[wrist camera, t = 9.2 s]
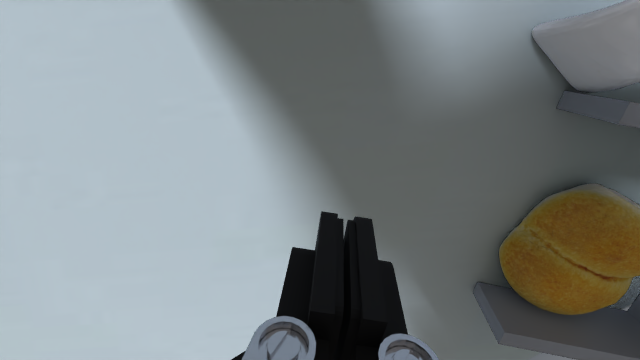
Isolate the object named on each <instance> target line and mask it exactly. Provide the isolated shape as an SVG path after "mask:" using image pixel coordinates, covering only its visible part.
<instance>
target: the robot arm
mask: <svg viewBox="0 0 640 360" xmlns="http://www.w3.org/2000/svg"><path fill="white" fill-rule="evenodd" d="M232 360H439V359H438V357H437V356H436V354H435V353H434V352H433V350H432V349H431V348H430V347H429V346H428V345H427V344H425V343H424V342H422V341H421V340H420V339H418V338H416V337H413V336H411V335H408V333H407V328H406V324H405V319H404V314H403V310H402V305H401V301H400V296H399V291H398V287H397V282H396V277H395V273H394V268H393V265H392V263H391V262H387V261H381V260H378V256H377V249H376V243H375V236H374V230H373V224H372V219H368V218H361V217H354V220H353V221H352V220H348V221H347V226H346V230H345V235H344V240H343V219H339V218H338V214H335V213H329V212H322V211H321V217H320V223H319V229H318V235H317V241H316V247H315V250H308V249H302V248H295V247H293V248H292V251H291V255H290V259H289V264H288V268H287V272H286V277H285V281H284V285H283V290H282V294H281V298H280V303H279V307H278V311H277V316H276V317H274V318H271V319H269V320H267V321H265V322H264V323H263V324H261V325H260V326H259V327H258V329H257V330H256V332H255V333H254V335H253V337H252V339H251V341H250V343H249V345H248V347H247V350H246V351H244V352H243V353H241V354H240V355H238V356H236V357H235V358H233V359H232Z"/></svg>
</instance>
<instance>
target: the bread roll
mask: <svg viewBox="0 0 640 360" xmlns="http://www.w3.org/2000/svg"><path fill="white" fill-rule="evenodd" d="M499 259H500V264H501V267H502V270H503V273H504V276H505V278H506V279H507V281H508V282H509V284H510V285H511V287H512V288H513V289H514V290H515V291H516V292H517V293H518V294H519V295H520V296H521V297H522V298H524V299H525V300H527V301H528V302H530V303H531V304H533V305H535V306H537V307H538V308H541V309H543V310H546V311H549V312H553V313H557V314H564V315H577V314H585V313H589V312H593V311H596V310H598V309H601V308H604V307H607V306H609V305H612V304H615V303H617V301H618V300H619V299H620V298H621V297H622V296H623V295H624V294H625V293H626V292H627V290H628V288H629V286H630V284H631V281H632V279H633V277H635V276H640V205H638V204H637V203H635V202H633V201H632V200H630V199H628V198H627V197H625V196H623V195H621V194H619V193H618V192H617V191H614V190H612V189H610V188H609V189H608V188H605V187H604V186H602V185H601V184H597V183H590V184H584V185H580V186H577V187H573V188H571V189H568V190H565V191H562V192H559V193H556V194H553V195H551V196H548V197H547V198H545V199H544V200H542V201H541V202H540V203H539V204H538V205H537V206H535V207H534V208H533V209H532V210H531V211H530V213H529V214H528V215H527V216H526V217H525V218H524V219H523V221H522V222H521V223H520V225H519V226H517V227H516V228H515V229H513V230H512V231H511V233H510V234H509V235H508V236H507V238H506V239H505V240H504V241H503V243H502V244H501V246H500V248H499Z"/></svg>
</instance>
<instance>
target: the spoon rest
mask: <svg viewBox="0 0 640 360" xmlns="http://www.w3.org/2000/svg"><path fill="white" fill-rule="evenodd" d="M532 36H533V38H534V39H535V41H536V43H537V44H538V45H539V46H540V48H541V49H542V50H543V51H544V53H545V54H546V55H547V56H548V57H549V58H550V60H551V61H552V62H553V64H554V65H555V67H556V68H557V69H558V70H559V71H560V73H561V74H562V75H563V76H564V77H565V79H566V80H567V81H568V82H569V83H570V84H571V85H572V86H573V87H574V88H575V89H576V90H578V91H580V92H585V93H589V92H604V91H610V90H614V89H619V88H622V87H626V86H629V85H632V84H635V83H638V82H640V0H625V1H623V2H620V3H618V4H615V5H612V6H610V7H607V8H604V9H600V10H597V11H593V12H590V13H586V14H582V15H578V16H573V17H568V18H564V19H558V20H554V21H549V22H544V23H542V24H539V25H537V26H536V27H534V28H533V29H532Z"/></svg>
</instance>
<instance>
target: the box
mask: <svg viewBox="0 0 640 360" xmlns="http://www.w3.org/2000/svg"><path fill="white" fill-rule="evenodd" d="M557 109H561V110H565V111H569V112H573V113H577V114H580V115H584V116H588V117H592V118H596V119H600V120H603V121H607V122H611V123H615V124H619V125H625V126H631V127H637V128H640V103H635V102H629V101H623V100H617V99H611V98H605V97H599V96H593V95H587V94H581V93H575V92H569V91H564V93H563V95H562V97H561V100H560V102H559V104H558V106H557ZM473 294H474V296H475V298H476V300H477V302H478V304H479V306H480V308H481V310H482V312H483V314H484V316H485V318H486V320H487V322H488V324H489V326H490V328H491V330H492V332H493V333H494V335H495V337H496V339H497V341H498V343H499V344H502V345H507V346H512V347H517V348H522V349H527V350H532V351H537V352H542V353H547V354H552V355H558V356H562V357H567V358H572V359H578V360H640V294H639V296H638V297H637V298H636V300H635V301H634V303H633V304H632V305H631V307H630V308H629V309H628V311H625V310H619V309H614V308H609V307H604V308H601V309H598V310H596V311H593V312H589V313H585V314H577V315H564V314H557V313H553V312H549V311H546V310H543V309H541V308H538V307H537V306H535V305H533V304H531V303H530V302H528V301H527V300H525V299H524V298H522V297H521V296H520V295H519V294H518V293H517V292H516V291H515V290H514V289H511V288H506V287H501V286H495V285H490V284H485V283H480V282H477V284H476V286H475V289H474V291H473Z"/></svg>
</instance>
